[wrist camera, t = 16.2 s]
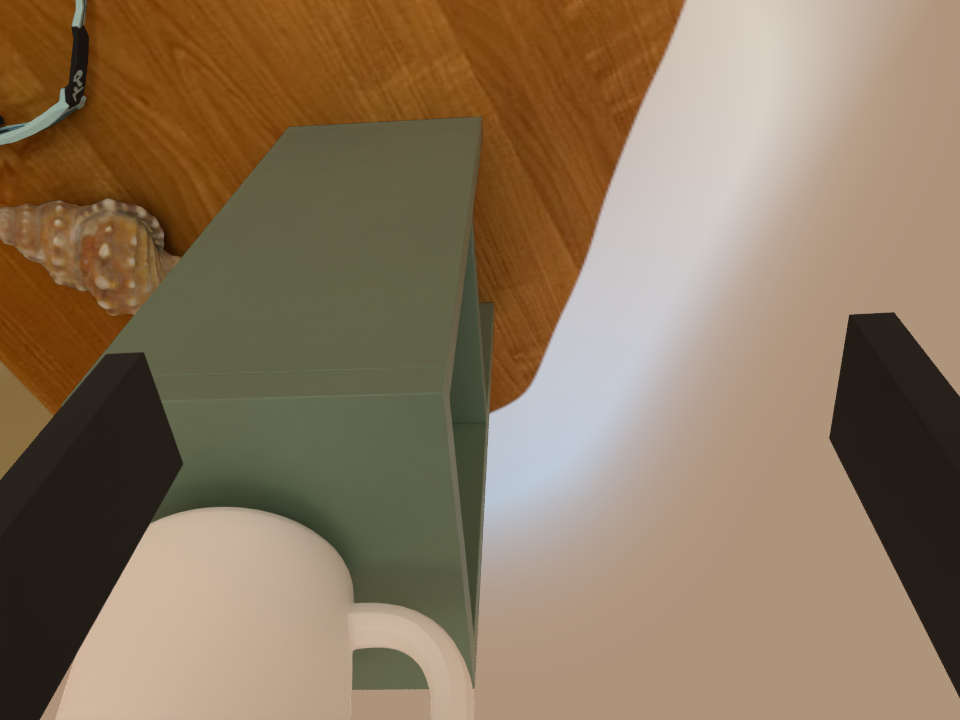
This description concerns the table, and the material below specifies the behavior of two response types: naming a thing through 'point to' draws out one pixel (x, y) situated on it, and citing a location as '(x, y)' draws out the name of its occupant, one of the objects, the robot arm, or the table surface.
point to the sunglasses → (69, 95)
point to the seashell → (93, 248)
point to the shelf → (341, 364)
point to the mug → (245, 629)
